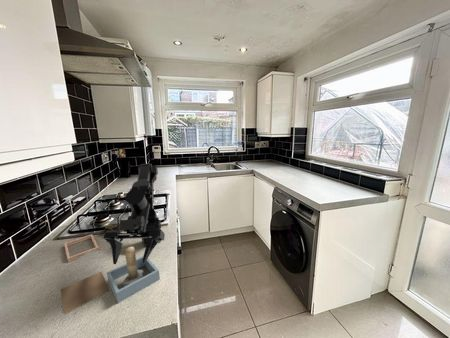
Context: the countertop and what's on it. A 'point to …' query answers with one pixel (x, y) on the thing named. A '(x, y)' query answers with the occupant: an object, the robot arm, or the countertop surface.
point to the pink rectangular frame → (77, 242)
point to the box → (134, 286)
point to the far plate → (83, 291)
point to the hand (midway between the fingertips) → (129, 263)
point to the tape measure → (111, 227)
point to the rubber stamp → (132, 267)
